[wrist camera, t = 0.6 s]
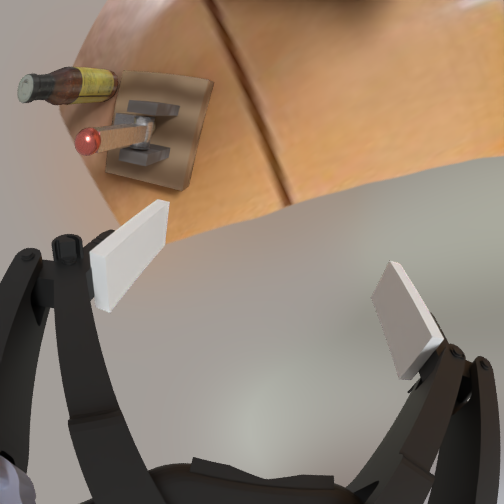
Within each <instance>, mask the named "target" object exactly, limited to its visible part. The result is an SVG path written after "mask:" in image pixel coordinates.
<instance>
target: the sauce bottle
mask: <svg viewBox="0 0 504 504" xmlns="http://www.w3.org/2000/svg"><path fill="white" fill-rule="evenodd" d="M117 87H118V78H117V76H116V75H115V73H114V72H112V71H108V70H105V69H96V68H83V67H64V68H62V69H59V70H56V71H54V72H51V73H49V74H45V75H37V74H28V75H25V76H24V77H23V78H22V79H21V81H20V83H19V86H18V99H19V101H20V102H22V103H29V102H32V101H33V100H45V101H47V102H49V103H51V104H53V105H62V104H66V105H68V104H78V103H91V102H101V101H106V100H108V99H109V98H111V97H112V96H113V95H114V94H115V92H116V90H117Z"/></svg>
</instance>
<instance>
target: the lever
mask: <svg viewBox="0 0 504 504" xmlns="http://www.w3.org/2000/svg"><path fill="white" fill-rule="evenodd" d="M154 121H155V117H152V116H145V115H136V114H128V113H116V116H115V121H114V125H112V126H104V127H96V128H85V129H83V130H81V131H80V132H79V133H78V134H77V136H76V138H75V148H76V150H77V151H78V153H80V154H81V155H85V156H88V155H92V154H93V153H100V152H103V151H107V150H111V149H115V148H119V147H123V146H127V145H130V146H129V147H130V148H134V149H141V150H146V149H149V146H150V141H151V136H152V131H153V126H154Z"/></svg>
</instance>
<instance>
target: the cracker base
mask: <svg viewBox="0 0 504 504" xmlns="http://www.w3.org/2000/svg"><path fill="white" fill-rule="evenodd" d="M213 85H214V82H212V81H210V80H208V79H202V78H196V77H189V76H182V75H174V74H165V73H155V72H143V71H125V70H123V74H122V78H121V82H120V87H119V91H118V95H117V100H116V105H115V110H114V115H113V121H112V125H114V121H115V116H116V113H128V114H136V115H145V116H152V117H155V121H154V126H153V131H152V136H151V141H150V146H149V149H146V150H141V149H134V148H130V147H129V146H130V145H127V146H123V147H119V148H115V149H111V150H108V153H107V161H106V170H105V172H107V173H111V174H116V175H120V176H124V177H128V178H132V179H136V180H141V181H145V182H149V183H153V184H157V185H160V186H164V187H168V188H172V189H176V190H180V191H183V190H184V189H186V188H187V187H188V186H189V184H190V179H191V174H192V169H193V165H194V160H195V156H196V151H197V147H198V143H199V139H200V134H201V130H202V126H203V122H204V118H205V115H206V111H207V107H208V103H209V100H210V96H211V92H212V89H213Z"/></svg>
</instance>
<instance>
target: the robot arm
mask: <svg viewBox="0 0 504 504" xmlns="http://www.w3.org/2000/svg"><path fill="white" fill-rule="evenodd" d="M169 203H170V202H167V201H163V200H159V199H157V200H156V201H154V202H153V203H152V204H150V205H149V206H147V207H146V208H145V209H143V210H142V211H141V212H139V213H138V214H137V215H135V216H134V217H133V218H131V219H130V220H129V221H127V222H126V223H125V224H123V225H122V226H121V227H120V228H118V229H117V230H116V231H115V230H108V231H106V232H103V233H101V234H100V235H99V236H97V237H96V238H95V239H93V240H92V241H91V242H90V243H88V244H87V245H86V246H85V247H83V245H82V239H81V237H79V236H78V235H74V234H65V235H61V236H58V237H56V238H55V239H54V240H53V241H52V251H53V258H54V261H50V260H42V256H41V252H40V250H38V249H35V248H26V249H23V250H22V251H20V252H18V253H17V255H16V256H15V258H14V259H13V261H12V263H11V264H10V266H9V268H8V270H7V272H6V273H5V275H4V277H3V279H2V281H1V283H0V504H36V503H35V498H36V494H35V489H34V486H33V483H32V481H31V480H30V478H29V477H28V476H27V474H26V473H27V466H28V459H29V457H28V456H29V434H30V416H31V405H32V396H33V388H34V381H35V374H36V368H37V362H38V357H39V351H40V346H41V342H42V338H43V333H44V329H45V325H46V321H47V317H48V314H49V310H50V308H54V312H55V326H56V338H57V347H58V356H59V363H60V370H61V376H62V382H63V387H64V393H65V398H66V402H67V407H68V411H69V416H70V419H69V420H68V427H69V431H70V435H71V439H72V442H73V446H74V449H75V452H76V455H77V458H78V461H79V464H80V467H81V470H82V472H83V475H84V478H85V481H86V483H87V485H88V488H89V490H90V493H91V495H92V499H90V500H87V501H85V502H82V503H80V504H423V503H424V501H425V499H426V497H427V495H428V493H429V491H430V489H431V487H432V489H431V493H430V497H429V501H428V504H497V497H498V488H499V476H500V424H499V411H498V401H497V393H496V386H495V379H494V373H493V369H492V366H491V364H490V362H489V361H488V360H487V359H485V358H484V357H482V356H478V357H477V358H476V359H475V360H474V361H473V362H469V361H467V360H466V358H465V355H464V353H463V351H462V350H461V349H460V348H459V347H458V346H456V345H454V344H449V343H448V341H447V339H446V338H445V336H444V334H443V332H442V330H441V329H440V326H439V324H437V321H436V319H435V317H434V316H433V315H432V313H431V312H430V311H429V310H428V308H427V307H426V305H425V303H424V302H423V300H422V298H421V297H420V295H419V293H418V292H417V290H416V288H415V287H414V285H413V283H412V282H411V280H410V279H409V277H408V275H407V274H406V272H405V271H404V269H403V268H402V266H401V265H400V263H397V262H393V261H390V260H389V263H388V265H387V267H386V269H385V271H384V273H383V275H382V277H381V279H380V281H379V283H378V285H377V287H376V289H375V291H374V293H373V295H372V296H371V299H372V301H373V304H374V307H375V309H376V312H377V314H378V317H379V320H380V323H381V326H382V328H383V331H384V334H385V337H386V340H387V342H388V346H389V349H390V352H391V355H392V358H393V361H394V364H395V367H396V370H397V374H398V377H399V379H403V380H404V379H405V380H411V379H412V378H413V377H414V376H415V375H416V374H417V373H418V371H419V374H420V377H421V378H420V379H419V380H418V381H417V382H416V383H415V384H414V385H413V387H412V388H411V389H410V390H409V391H408V393H410V392H411V393H410V395H409V397H408V399H407V401H406V403H405V405H404V406H403V408H402V410H401V411H400V413H399V415H398V417H397V418H396V420H395V422H394V423H393V425H392V427H391V428H390V430H389V431H388V433H387V434H386V436H385V438H384V439H383V441H382V442H381V444H380V445H379V447H378V448H377V450H376V451H375V453H374V454H373V455H372V457H371V458H370V460H369V461H368V462H367V464H366V465H365V466H364V468H363V469H362V470H361V471H360V473H359V474H358V475H357V477H356V478H355V479H354V480H353V481H352V482H351V483H350V484H349V485H348V486H347V487H346V488H345V487H342V486H340V485H338V484H335V483H334V476H323V475H297V476H291V477H284V478H276V479H263V478H260V477H257V476H254V475H252V474H249V473H246V472H244V471H242V470H239V469H237V468H234V467H232V466H230V465H225V464H220V463H216V462H211V461H207V460H202V459H199V458H195V457H193V459H192V463H191V464H188V463H187V464H186V463H179V464H169V465H164V466H160V467H156V468H154V469H151V470H149V471H148V470H147V468H146V466H145V464H144V462H143V460H142V458H141V456H140V454H139V452H138V449H137V447H136V445H135V443H134V441H133V438H132V436H131V434H130V431H129V429H128V426H127V424H126V422H125V419H124V416H123V414H122V412H121V410H120V408H119V405H118V402H117V400H116V396H115V394H114V391H113V388H112V385H111V382H110V378H109V375H108V372H107V369H106V365H105V362H104V358H103V355H102V351H101V347H100V343H99V339H98V335H97V331H96V327H95V322H94V318H93V313H92V308H91V303H90V301H91V299H93V297H94V299H95V306H96V307H97V308H99V309H102V310H104V311H107V312H109V313H110V312H111V311H112V310H113V308H114V307H115V306H116V304H117V303H118V302H119V301H120V299H121V298H122V297H123V295H124V294H125V293H126V292H127V290H128V289H129V288H130V287H131V285H132V284H133V283H134V282H135V280H136V279H137V278H138V277H139V275H140V274H141V273H142V272H143V270H144V269H145V268H146V267H147V266H148V264H149V263H150V262H151V261H152V260H153V258H154V257H155V256H156V255H157V254H158V253H159V251H160V250H161V249H162V248H163V247H164V246H165V240H166V230H167V220H168V211H169ZM469 398H470V399H469ZM468 399H469V401H468V402H467V400H468ZM439 448H440V449H439ZM438 451H439V455H438V461H437V466H436V471H435V476H434V475H433V474H431V473H430V469H431V467H432V464H433V462H434V460H435V458H436V455H437V453H438Z"/></svg>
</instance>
